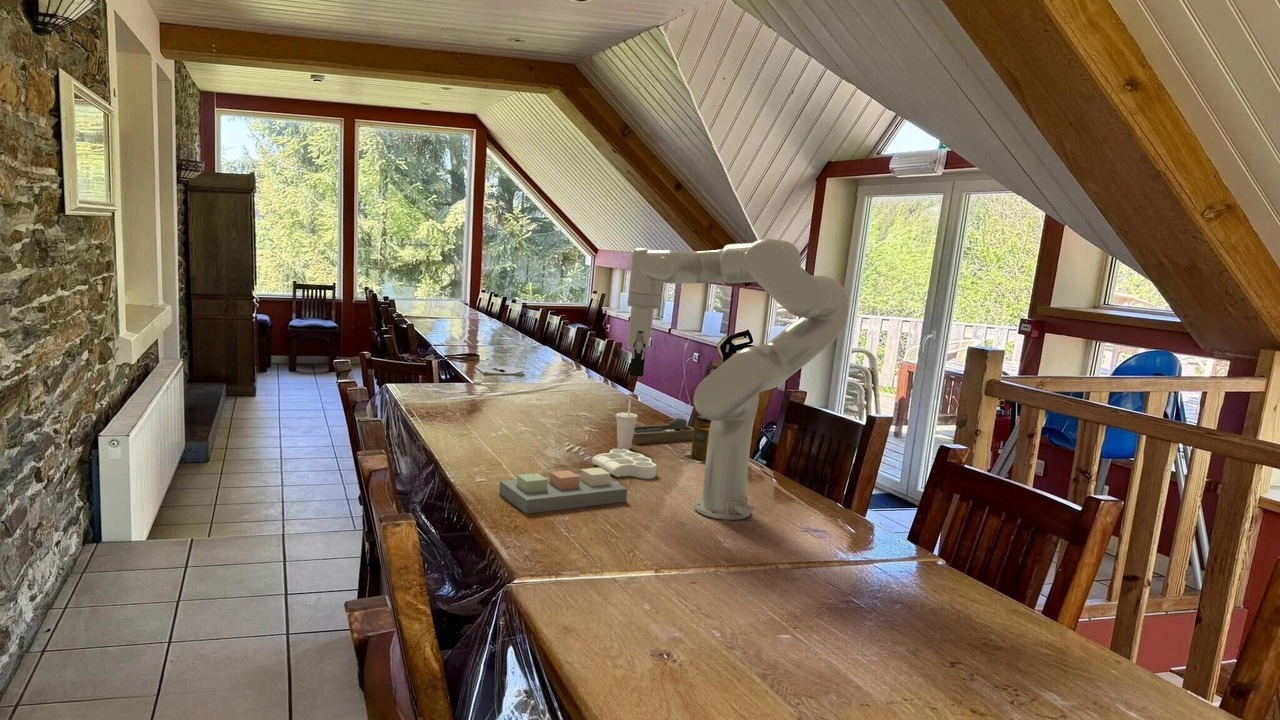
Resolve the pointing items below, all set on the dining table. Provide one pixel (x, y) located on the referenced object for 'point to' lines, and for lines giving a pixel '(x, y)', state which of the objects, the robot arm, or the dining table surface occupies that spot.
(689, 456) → the condiment
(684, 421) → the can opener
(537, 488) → the sage button
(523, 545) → the dining table surface
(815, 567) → the dining table surface
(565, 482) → the terracotta button
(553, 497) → the button panel
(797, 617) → the dining table surface
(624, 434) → the smoothie
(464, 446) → the dining table surface
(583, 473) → the cream button
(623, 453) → the white paint palette
